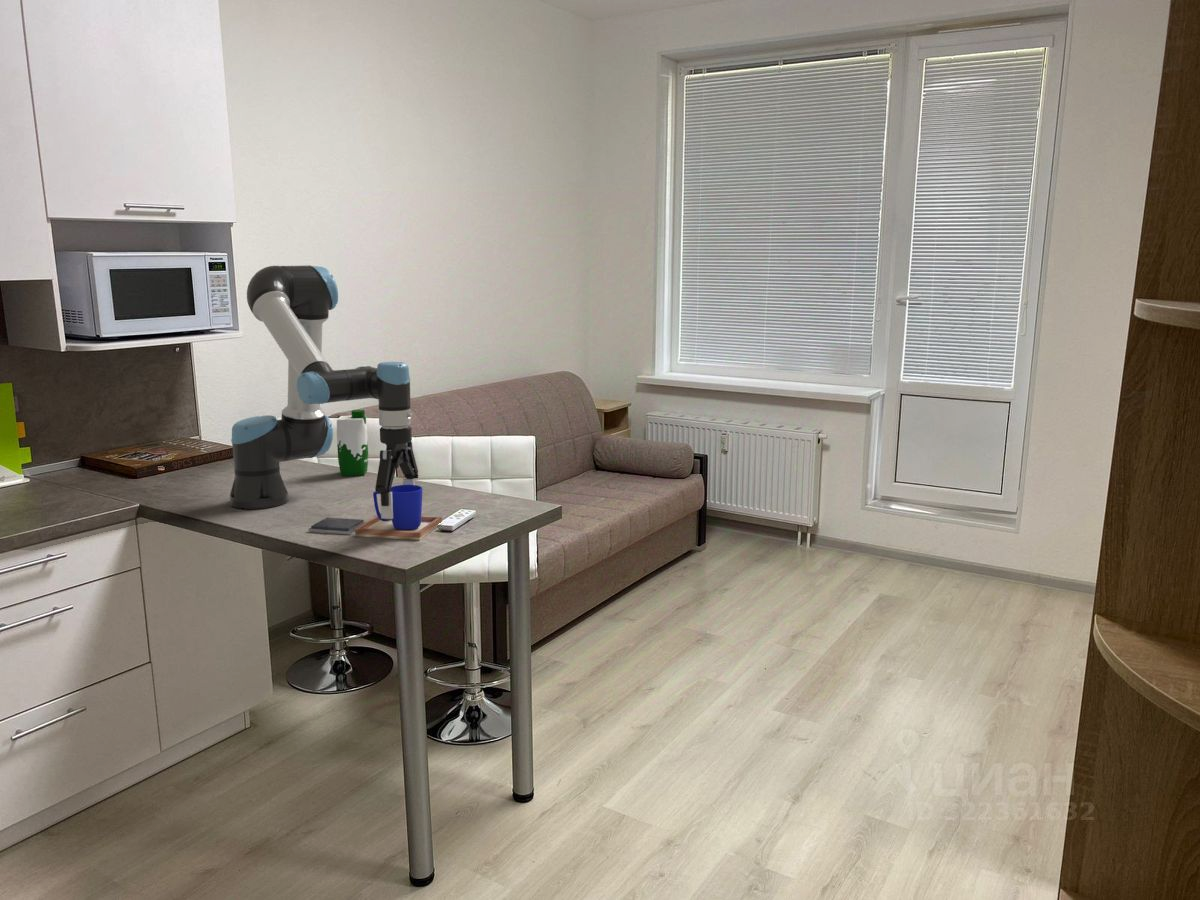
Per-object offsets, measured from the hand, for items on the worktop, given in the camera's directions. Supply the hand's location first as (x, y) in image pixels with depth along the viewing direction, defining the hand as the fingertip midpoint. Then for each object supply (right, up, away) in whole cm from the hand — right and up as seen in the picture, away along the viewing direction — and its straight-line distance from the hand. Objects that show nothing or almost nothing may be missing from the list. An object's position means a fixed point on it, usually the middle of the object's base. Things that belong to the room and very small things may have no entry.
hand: (398, 511), depth 225 cm
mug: (0, -4, +1) cm, 4 cm away
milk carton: (-28, +8, +62) cm, 69 cm away
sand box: (0, -5, +1) cm, 5 cm away
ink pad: (-16, -4, +2) cm, 16 cm away
